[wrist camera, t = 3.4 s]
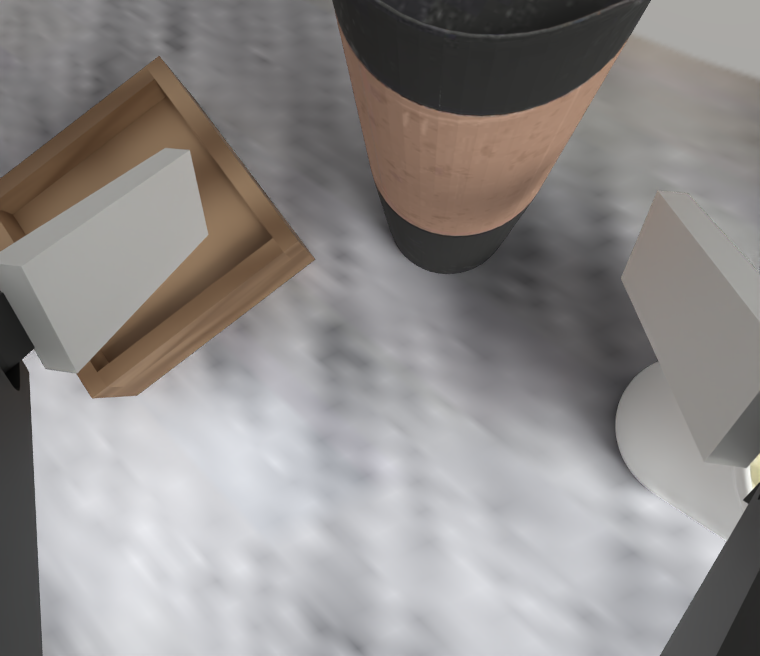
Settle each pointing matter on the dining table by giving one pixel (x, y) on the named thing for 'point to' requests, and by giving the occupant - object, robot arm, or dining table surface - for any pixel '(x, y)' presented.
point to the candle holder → (678, 457)
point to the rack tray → (208, 260)
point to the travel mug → (472, 108)
